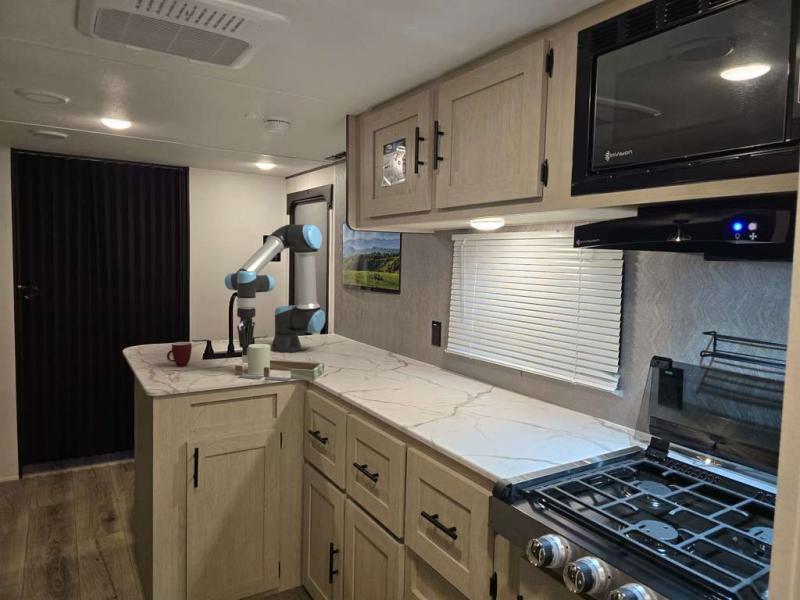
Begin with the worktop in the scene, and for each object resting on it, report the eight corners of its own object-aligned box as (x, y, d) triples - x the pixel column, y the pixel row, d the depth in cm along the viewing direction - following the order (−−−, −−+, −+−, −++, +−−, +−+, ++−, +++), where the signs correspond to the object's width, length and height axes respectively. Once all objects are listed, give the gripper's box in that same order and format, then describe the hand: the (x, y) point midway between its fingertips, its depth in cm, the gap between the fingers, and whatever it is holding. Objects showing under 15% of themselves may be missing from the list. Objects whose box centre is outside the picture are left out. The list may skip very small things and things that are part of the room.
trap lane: (249, 367, 237) (249, 358, 237) (323, 372, 232) (323, 363, 232) (235, 375, 223) (235, 365, 223) (314, 380, 219) (314, 370, 218)
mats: (241, 375, 223) (241, 374, 223) (290, 378, 220) (290, 378, 220) (237, 377, 219) (237, 377, 219) (287, 381, 216) (287, 380, 216)
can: (257, 376, 223) (257, 347, 221) (243, 372, 228) (243, 344, 227) (274, 372, 230) (275, 344, 229) (260, 368, 235) (261, 341, 234)
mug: (173, 369, 229) (173, 346, 228) (163, 366, 234) (162, 344, 233) (195, 365, 238) (195, 343, 237) (184, 362, 243) (184, 341, 242)
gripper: (244, 305, 234) (244, 358, 236) (230, 308, 221) (230, 364, 223) (260, 306, 233) (260, 359, 235) (248, 309, 220) (247, 366, 222)
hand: (245, 362), depth 229 cm, fingers closed
